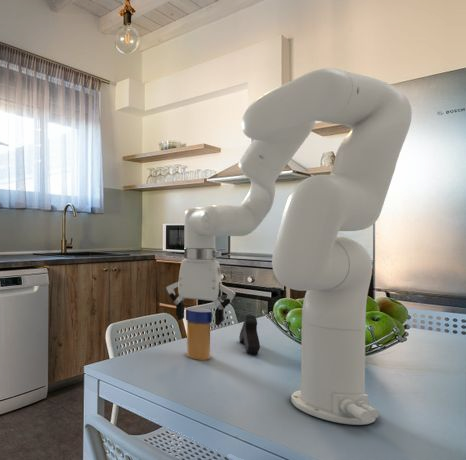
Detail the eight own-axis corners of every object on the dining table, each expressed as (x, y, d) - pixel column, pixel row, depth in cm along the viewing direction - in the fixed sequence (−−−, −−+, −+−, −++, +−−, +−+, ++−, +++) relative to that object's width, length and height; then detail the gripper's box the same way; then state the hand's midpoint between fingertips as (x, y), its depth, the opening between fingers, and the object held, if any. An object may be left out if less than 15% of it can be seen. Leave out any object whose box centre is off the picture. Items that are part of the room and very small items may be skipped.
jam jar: (213, 360, 101) (214, 314, 101) (191, 359, 101) (192, 314, 101) (204, 353, 107) (205, 310, 107) (183, 353, 107) (184, 310, 107)
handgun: (248, 347, 104) (244, 312, 109) (241, 364, 114) (238, 331, 120) (260, 348, 103) (256, 312, 109) (252, 366, 113) (248, 332, 119)
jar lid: (197, 316, 108) (197, 306, 108) (217, 321, 103) (217, 310, 103) (180, 319, 105) (180, 308, 105) (200, 324, 100) (200, 313, 100)
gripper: (239, 256, 102) (238, 323, 102) (172, 253, 112) (171, 315, 112) (231, 257, 96) (231, 329, 96) (161, 254, 106) (161, 319, 106)
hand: (199, 321), depth 104 cm, fingers open, 9 cm apart
